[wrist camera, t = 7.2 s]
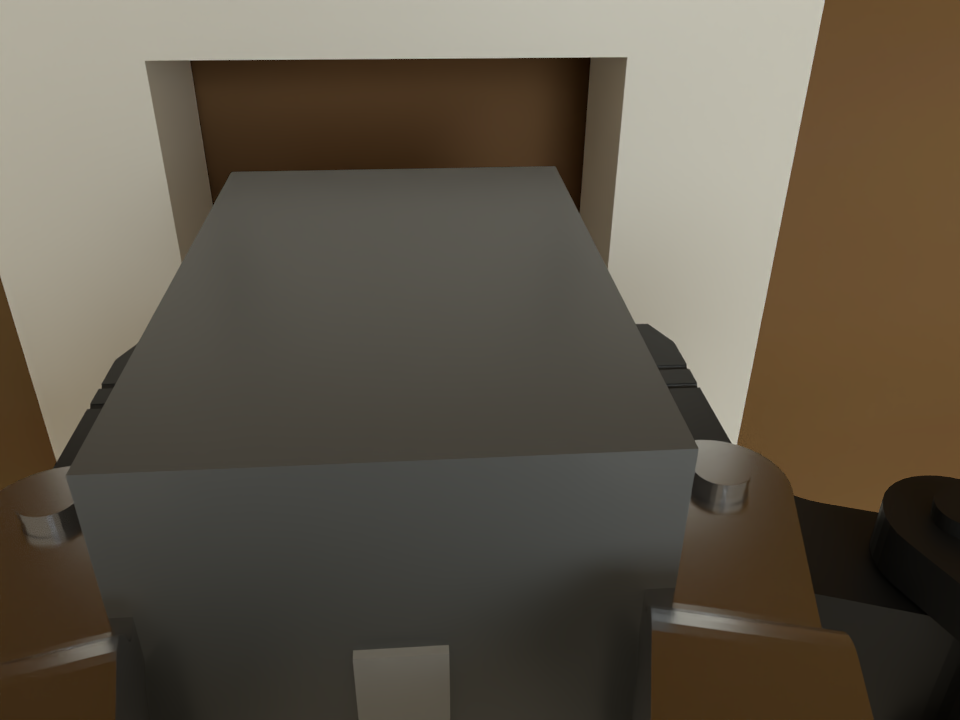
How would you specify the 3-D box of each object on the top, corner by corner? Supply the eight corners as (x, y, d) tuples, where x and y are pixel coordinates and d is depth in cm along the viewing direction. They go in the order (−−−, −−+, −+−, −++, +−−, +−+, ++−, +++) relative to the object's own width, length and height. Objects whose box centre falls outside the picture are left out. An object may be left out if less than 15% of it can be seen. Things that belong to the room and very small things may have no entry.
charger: (231, 171, 10) (60, 484, 5) (555, 165, 11) (702, 456, 5) (277, 493, 13) (193, 919, 8) (538, 481, 13) (628, 886, 8)
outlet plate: (-65, -260, 12) (-176, -288, 9) (795, -244, 12) (880, -266, 10) (137, 527, 19) (101, 619, 16) (675, 503, 20) (710, 586, 17)
